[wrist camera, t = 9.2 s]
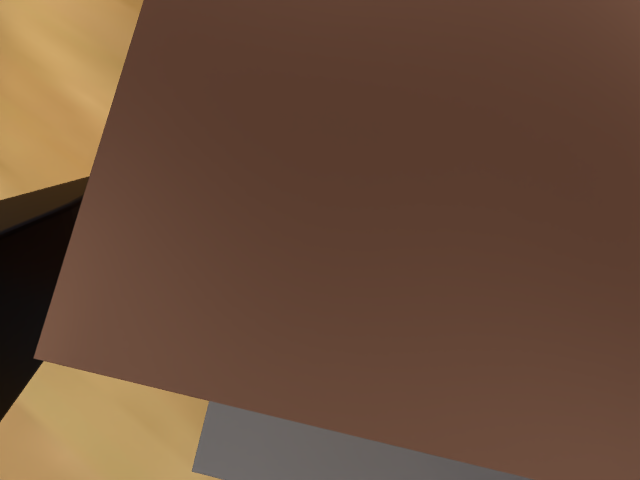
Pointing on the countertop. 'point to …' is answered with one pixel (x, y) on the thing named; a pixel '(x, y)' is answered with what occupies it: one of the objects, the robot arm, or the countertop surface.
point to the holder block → (312, 453)
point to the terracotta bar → (375, 224)
